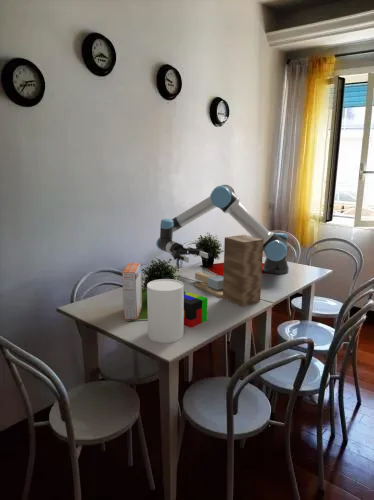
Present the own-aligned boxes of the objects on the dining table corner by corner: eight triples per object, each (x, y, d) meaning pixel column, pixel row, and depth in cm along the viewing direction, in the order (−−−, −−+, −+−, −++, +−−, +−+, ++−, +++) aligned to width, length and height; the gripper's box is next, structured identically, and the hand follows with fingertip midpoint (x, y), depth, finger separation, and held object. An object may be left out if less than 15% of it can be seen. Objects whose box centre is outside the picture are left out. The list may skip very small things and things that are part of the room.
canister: (175, 345, 136) (175, 292, 131) (141, 339, 140) (140, 288, 136) (188, 329, 148) (188, 281, 143) (157, 324, 153) (156, 277, 148)
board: (214, 281, 206) (214, 279, 206) (240, 292, 190) (240, 290, 189) (194, 286, 199) (194, 283, 199) (220, 298, 182) (220, 295, 182)
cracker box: (129, 307, 170) (127, 262, 166) (142, 307, 170) (141, 262, 165) (123, 320, 157) (121, 271, 152) (137, 320, 157) (136, 272, 152)
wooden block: (241, 293, 189) (243, 234, 182) (260, 301, 178) (263, 239, 171) (222, 298, 182) (224, 237, 175) (241, 306, 172) (244, 242, 164)
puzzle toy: (173, 321, 156) (172, 298, 154) (189, 314, 163) (189, 292, 161) (190, 328, 150) (191, 304, 147) (207, 320, 157) (207, 298, 155)
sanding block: (203, 278, 210) (203, 269, 209) (229, 288, 192) (229, 278, 191) (191, 281, 205) (191, 272, 204) (217, 291, 188) (217, 281, 187)
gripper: (191, 251, 230) (214, 260, 214) (157, 258, 216) (179, 268, 200) (191, 239, 228) (215, 248, 212) (157, 245, 214) (179, 255, 198)
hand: (197, 258), depth 206 cm, fingers open, 13 cm apart
